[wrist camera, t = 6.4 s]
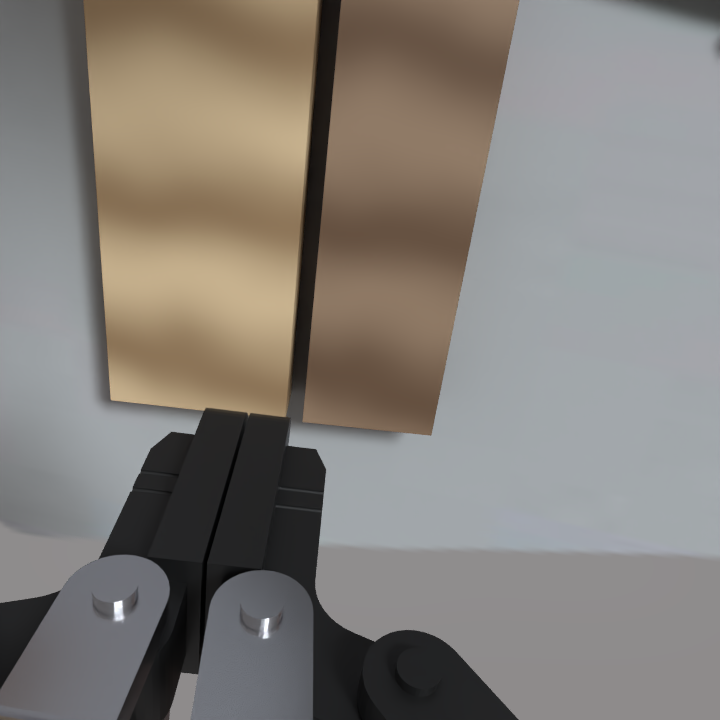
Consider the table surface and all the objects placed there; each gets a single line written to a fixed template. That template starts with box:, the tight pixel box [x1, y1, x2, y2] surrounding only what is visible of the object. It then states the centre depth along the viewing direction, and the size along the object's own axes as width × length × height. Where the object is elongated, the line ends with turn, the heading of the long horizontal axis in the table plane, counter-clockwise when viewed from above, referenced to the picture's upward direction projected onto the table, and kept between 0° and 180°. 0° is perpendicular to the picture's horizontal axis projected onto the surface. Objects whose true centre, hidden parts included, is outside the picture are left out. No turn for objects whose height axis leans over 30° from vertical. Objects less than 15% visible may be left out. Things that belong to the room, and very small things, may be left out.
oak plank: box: [83, 0, 323, 417], centre depth 28 cm, size 20×8×2 cm, turn 173°
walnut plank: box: [303, 0, 519, 435], centre depth 28 cm, size 20×6×2 cm, turn 173°
